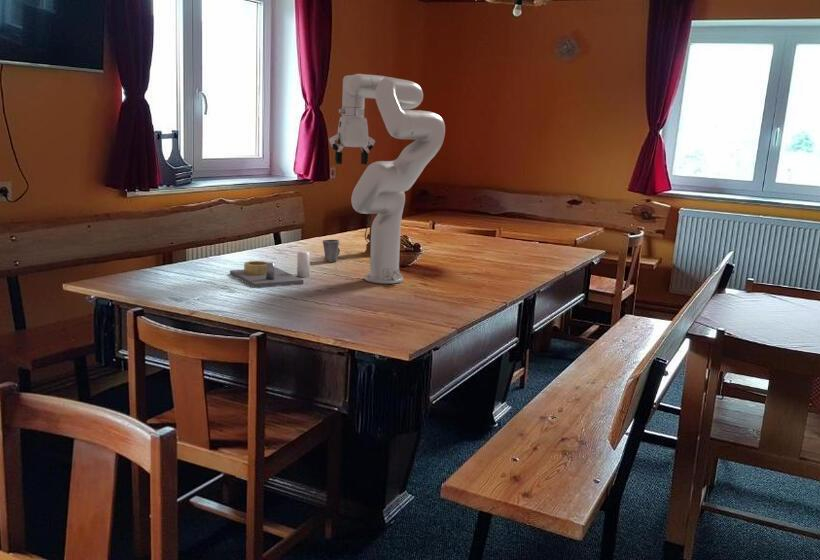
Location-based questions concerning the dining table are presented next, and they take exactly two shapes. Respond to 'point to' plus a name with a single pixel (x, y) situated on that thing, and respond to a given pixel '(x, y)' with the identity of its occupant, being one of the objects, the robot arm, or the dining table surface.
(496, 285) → the dining table surface
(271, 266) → the small stub
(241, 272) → the fitting board
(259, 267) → the brass socket
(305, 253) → the white rounded peg
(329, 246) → the grey mug
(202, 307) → the dining table surface
